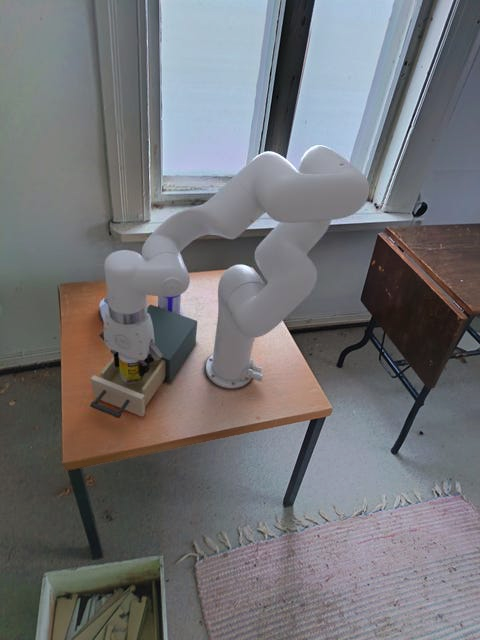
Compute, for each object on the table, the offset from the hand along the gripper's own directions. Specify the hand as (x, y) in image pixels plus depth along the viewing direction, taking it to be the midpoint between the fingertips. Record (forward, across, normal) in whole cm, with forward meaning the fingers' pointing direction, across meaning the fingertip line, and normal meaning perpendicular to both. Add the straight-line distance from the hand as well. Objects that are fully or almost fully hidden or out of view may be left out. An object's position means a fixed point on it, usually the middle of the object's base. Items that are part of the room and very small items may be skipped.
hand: (132, 367), depth 94 cm
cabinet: (+8, 0, +13) cm, 15 cm away
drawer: (+7, 0, -2) cm, 7 cm away
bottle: (+8, -5, +28) cm, 29 cm away
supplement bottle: (+3, 0, 0) cm, 3 cm away
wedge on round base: (+8, -17, +20) cm, 27 cm away
